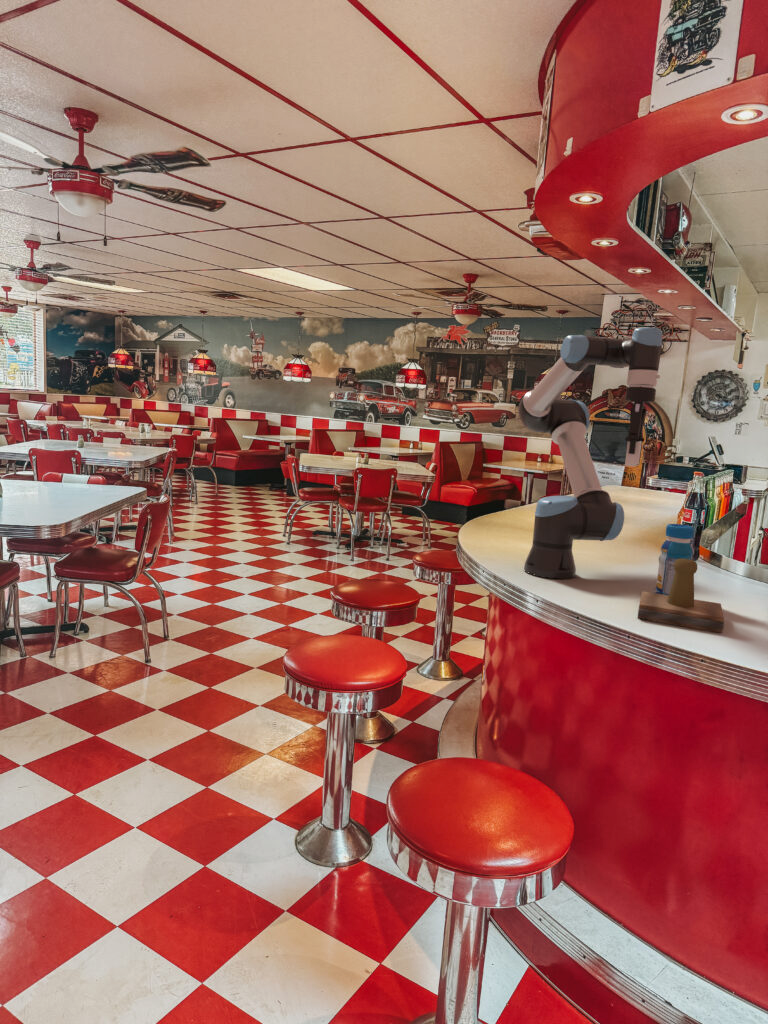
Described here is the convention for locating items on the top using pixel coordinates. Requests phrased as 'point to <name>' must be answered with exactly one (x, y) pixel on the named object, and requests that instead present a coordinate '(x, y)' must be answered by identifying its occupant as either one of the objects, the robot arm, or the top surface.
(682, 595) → the cork
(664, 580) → the beverage bottle
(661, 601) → the wooden block
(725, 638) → the top surface
